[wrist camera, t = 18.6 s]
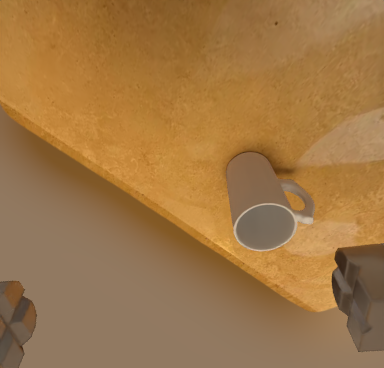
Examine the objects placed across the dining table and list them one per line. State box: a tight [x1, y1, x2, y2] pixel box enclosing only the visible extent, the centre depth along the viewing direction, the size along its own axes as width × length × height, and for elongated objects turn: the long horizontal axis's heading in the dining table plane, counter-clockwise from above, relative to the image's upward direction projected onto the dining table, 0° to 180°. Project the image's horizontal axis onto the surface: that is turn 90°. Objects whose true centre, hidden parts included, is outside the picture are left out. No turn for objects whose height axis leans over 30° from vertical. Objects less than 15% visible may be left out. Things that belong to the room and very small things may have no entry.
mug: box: [226, 152, 315, 251], centre depth 41 cm, size 10×7×12 cm, turn 90°
